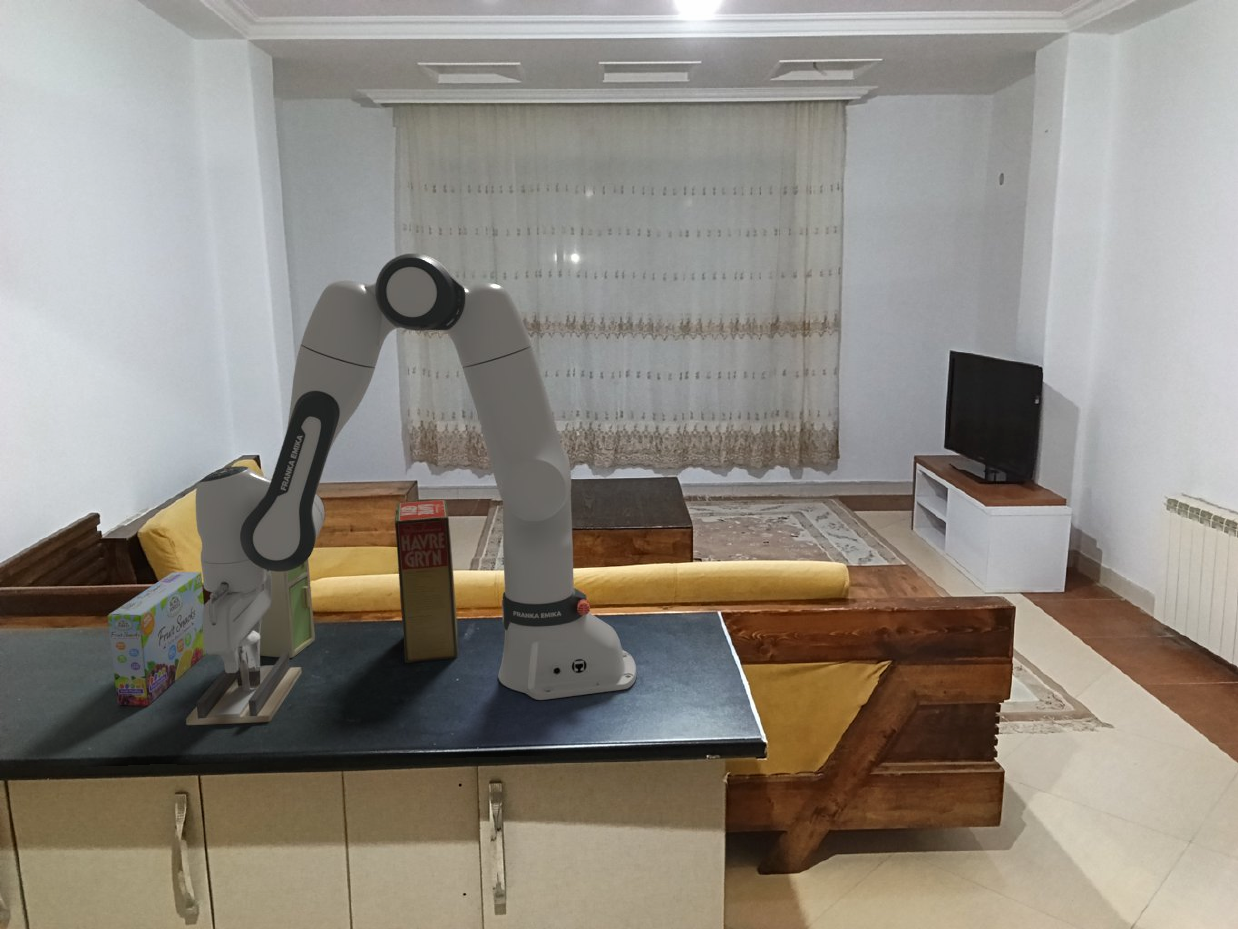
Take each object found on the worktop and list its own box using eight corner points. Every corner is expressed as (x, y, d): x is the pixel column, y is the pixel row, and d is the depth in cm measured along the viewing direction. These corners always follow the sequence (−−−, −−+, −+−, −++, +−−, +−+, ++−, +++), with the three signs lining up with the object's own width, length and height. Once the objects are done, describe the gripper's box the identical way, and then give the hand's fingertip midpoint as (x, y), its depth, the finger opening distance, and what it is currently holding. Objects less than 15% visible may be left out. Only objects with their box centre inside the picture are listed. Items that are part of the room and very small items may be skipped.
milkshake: (248, 677, 147) (242, 618, 145) (271, 684, 145) (265, 624, 143) (224, 688, 144) (217, 628, 141) (247, 696, 141) (240, 634, 139)
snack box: (152, 707, 141) (140, 614, 138) (116, 707, 141) (103, 615, 138) (211, 651, 162) (202, 569, 159) (179, 651, 162) (169, 570, 159)
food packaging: (404, 633, 168) (395, 501, 163) (456, 629, 170) (449, 498, 165) (403, 663, 156) (393, 521, 150) (459, 657, 157) (451, 517, 152)
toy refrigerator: (296, 659, 158) (285, 542, 154) (257, 656, 159) (245, 540, 155) (319, 641, 166) (309, 529, 161) (282, 638, 167) (272, 527, 163)
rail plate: (301, 672, 152) (299, 653, 152) (269, 721, 136) (267, 699, 135) (227, 675, 152) (225, 655, 151) (186, 725, 135) (183, 703, 134)
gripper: (231, 595, 130) (241, 686, 132) (275, 552, 150) (283, 632, 152) (185, 597, 129) (196, 688, 132) (236, 554, 149) (244, 633, 152)
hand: (243, 658), depth 142 cm, fingers open, 8 cm apart
